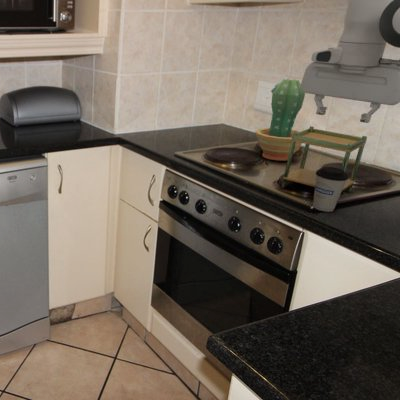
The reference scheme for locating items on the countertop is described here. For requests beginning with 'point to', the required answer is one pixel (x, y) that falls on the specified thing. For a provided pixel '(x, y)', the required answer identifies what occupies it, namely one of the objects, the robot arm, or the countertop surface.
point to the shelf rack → (326, 141)
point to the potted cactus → (282, 120)
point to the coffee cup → (328, 188)
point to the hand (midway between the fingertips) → (341, 118)
